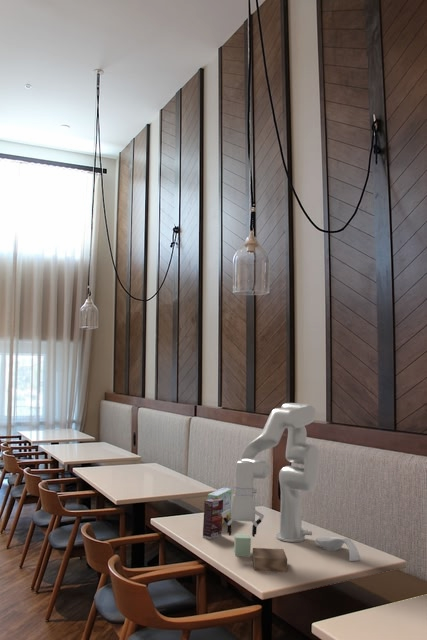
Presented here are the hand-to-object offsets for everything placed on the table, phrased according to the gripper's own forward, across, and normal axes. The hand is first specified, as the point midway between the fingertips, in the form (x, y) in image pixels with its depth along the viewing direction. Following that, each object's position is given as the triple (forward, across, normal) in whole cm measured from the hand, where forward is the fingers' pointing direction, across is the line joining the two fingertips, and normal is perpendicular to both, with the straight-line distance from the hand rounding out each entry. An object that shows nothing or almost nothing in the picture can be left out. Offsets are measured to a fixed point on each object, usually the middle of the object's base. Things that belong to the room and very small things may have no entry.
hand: (241, 535), depth 225 cm
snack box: (+7, +6, -50) cm, 50 cm away
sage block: (+7, -1, -1) cm, 7 cm away
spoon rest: (+7, -41, -6) cm, 42 cm away
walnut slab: (+8, -10, +13) cm, 18 cm away
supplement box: (+7, +10, -25) cm, 28 cm away
